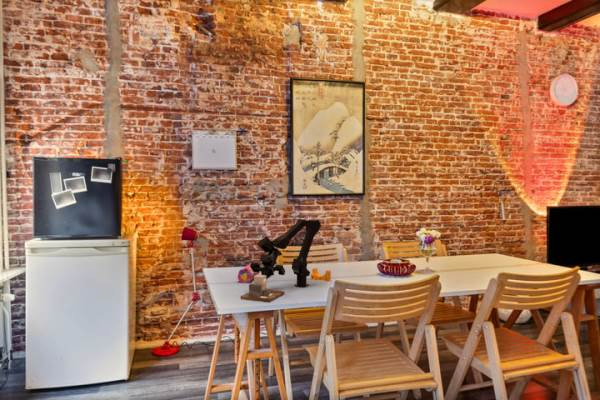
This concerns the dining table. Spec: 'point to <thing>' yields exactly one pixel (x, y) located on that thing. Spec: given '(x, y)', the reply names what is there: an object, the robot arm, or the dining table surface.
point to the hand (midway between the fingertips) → (262, 281)
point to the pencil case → (246, 274)
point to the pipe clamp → (317, 276)
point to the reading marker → (265, 292)
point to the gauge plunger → (261, 281)
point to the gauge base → (275, 295)
